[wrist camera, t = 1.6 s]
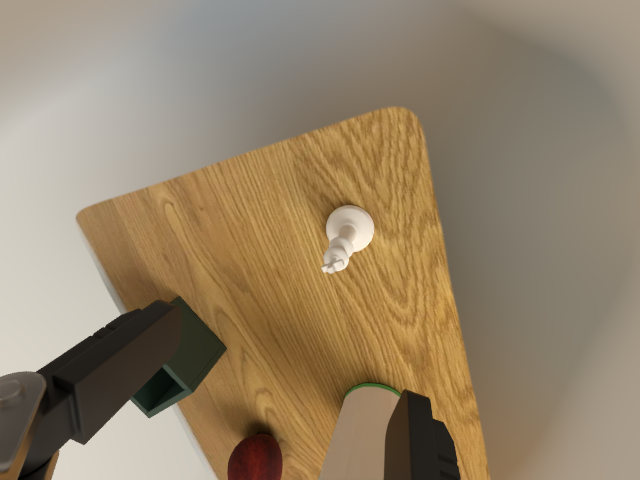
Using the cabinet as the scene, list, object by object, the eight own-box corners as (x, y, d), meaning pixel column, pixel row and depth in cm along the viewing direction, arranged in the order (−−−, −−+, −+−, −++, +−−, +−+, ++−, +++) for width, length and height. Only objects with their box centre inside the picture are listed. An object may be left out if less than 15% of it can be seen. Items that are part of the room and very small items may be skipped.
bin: (142, 326, 43) (94, 363, 36) (179, 295, 39) (133, 330, 32) (187, 374, 44) (148, 418, 37) (227, 348, 40) (193, 393, 33)
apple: (255, 458, 47) (230, 518, 40) (235, 421, 45) (204, 477, 38) (296, 456, 45) (277, 520, 37) (276, 417, 43) (252, 477, 35)
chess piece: (381, 241, 30) (375, 290, 21) (338, 256, 32) (315, 307, 23) (362, 197, 29) (348, 228, 20) (318, 215, 31) (286, 251, 22)
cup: (423, 452, 38) (439, 637, 24) (329, 433, 41) (296, 588, 27) (432, 377, 34) (458, 548, 20) (327, 362, 37) (286, 502, 23)
